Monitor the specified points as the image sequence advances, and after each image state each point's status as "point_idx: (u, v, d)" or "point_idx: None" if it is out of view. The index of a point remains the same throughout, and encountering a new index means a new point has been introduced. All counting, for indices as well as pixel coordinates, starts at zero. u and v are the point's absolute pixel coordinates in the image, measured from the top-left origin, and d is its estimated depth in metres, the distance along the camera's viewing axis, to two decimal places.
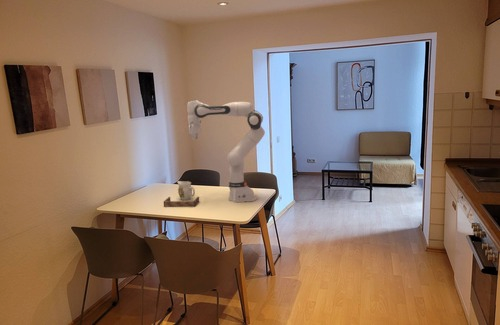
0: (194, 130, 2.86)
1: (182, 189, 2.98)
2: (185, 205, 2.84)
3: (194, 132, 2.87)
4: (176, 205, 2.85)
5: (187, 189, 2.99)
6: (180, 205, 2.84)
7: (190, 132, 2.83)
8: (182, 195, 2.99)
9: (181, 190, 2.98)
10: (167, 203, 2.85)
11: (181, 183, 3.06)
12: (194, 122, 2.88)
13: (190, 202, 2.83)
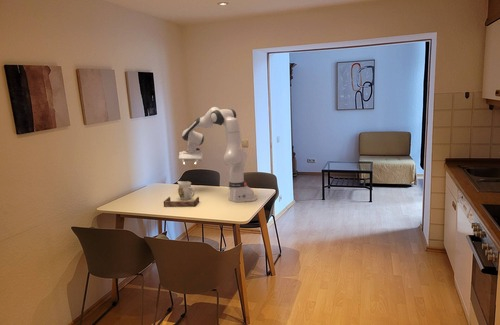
0: (182, 156, 3.19)
1: (182, 189, 2.98)
2: (185, 205, 2.84)
3: (183, 157, 3.18)
4: (176, 205, 2.85)
5: (187, 189, 2.99)
6: (180, 205, 2.84)
7: None
8: (182, 195, 2.99)
9: (181, 190, 2.98)
10: (167, 203, 2.85)
11: (181, 183, 3.06)
12: None
13: (190, 202, 2.83)
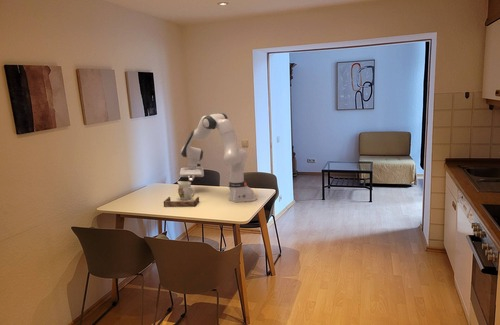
0: (184, 172, 3.20)
1: (182, 189, 2.98)
2: (185, 205, 2.84)
3: (184, 173, 3.19)
4: (176, 205, 2.85)
5: (187, 189, 2.99)
6: (180, 205, 2.84)
7: None
8: (182, 195, 2.99)
9: (181, 190, 2.98)
10: (167, 203, 2.85)
11: (181, 183, 3.06)
12: None
13: (190, 202, 2.83)
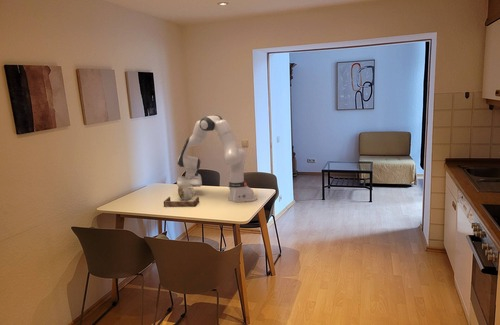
0: None
1: (182, 189, 2.97)
2: (185, 205, 2.84)
3: None
4: (176, 205, 2.85)
5: (187, 189, 2.98)
6: (180, 205, 2.84)
7: None
8: (182, 195, 2.98)
9: (181, 190, 2.98)
10: (167, 203, 2.85)
11: (181, 183, 3.06)
12: (185, 175, 3.15)
13: (190, 202, 2.83)
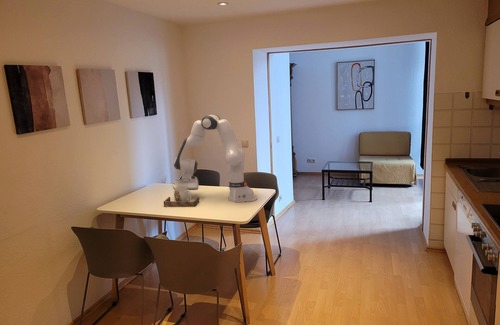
0: None
1: (178, 193, 2.87)
2: (185, 205, 2.84)
3: None
4: (176, 205, 2.85)
5: (184, 193, 2.88)
6: (180, 205, 2.84)
7: None
8: (178, 199, 2.88)
9: (177, 194, 2.87)
10: (167, 203, 2.85)
11: (177, 186, 2.95)
12: None
13: (190, 202, 2.83)
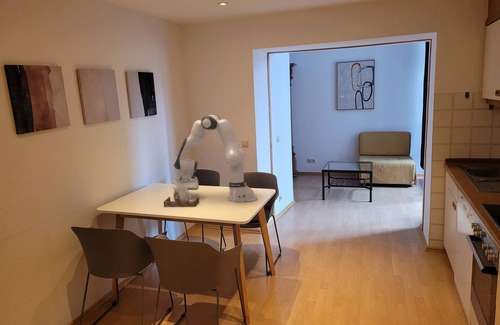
0: (177, 184, 3.02)
1: (178, 193, 2.85)
2: (185, 205, 2.84)
3: None
4: (176, 205, 2.85)
5: (183, 193, 2.86)
6: (180, 205, 2.84)
7: None
8: (178, 200, 2.86)
9: (177, 194, 2.86)
10: (167, 203, 2.85)
11: (176, 187, 2.94)
12: None
13: (190, 202, 2.83)
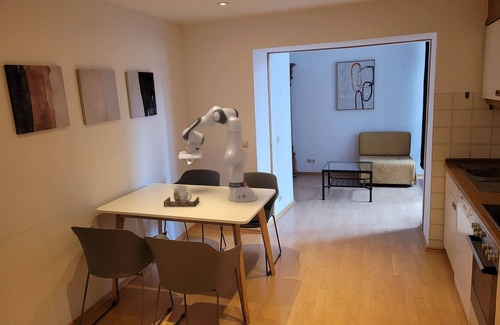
0: (182, 156, 3.16)
1: (178, 193, 2.85)
2: (185, 205, 2.84)
3: (183, 157, 3.15)
4: (176, 205, 2.85)
5: (183, 193, 2.86)
6: (180, 205, 2.84)
7: None
8: (178, 200, 2.86)
9: (177, 194, 2.86)
10: (167, 203, 2.85)
11: (176, 187, 2.94)
12: (186, 150, 3.19)
13: (190, 202, 2.83)
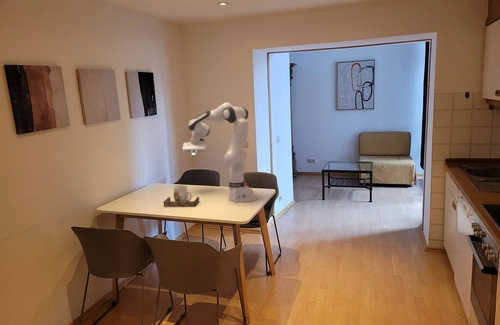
0: (186, 146, 3.12)
1: (178, 193, 2.85)
2: (185, 205, 2.84)
3: (187, 148, 3.11)
4: (176, 205, 2.85)
5: (183, 193, 2.86)
6: (180, 205, 2.84)
7: None
8: (178, 200, 2.86)
9: (177, 194, 2.86)
10: (167, 203, 2.85)
11: (176, 187, 2.94)
12: (190, 141, 3.15)
13: (190, 202, 2.83)
